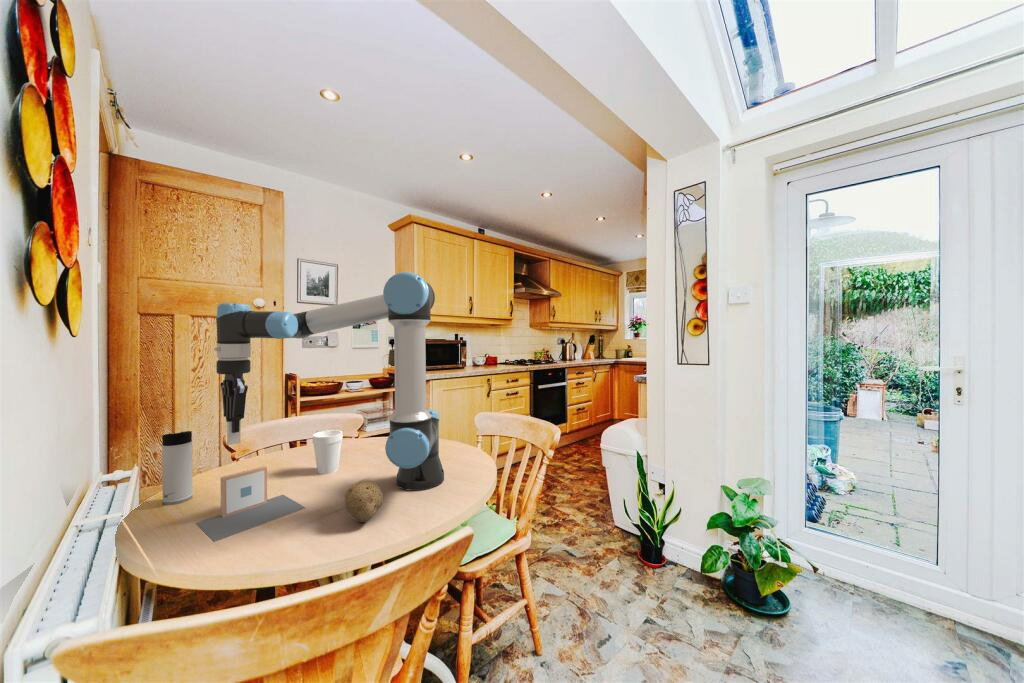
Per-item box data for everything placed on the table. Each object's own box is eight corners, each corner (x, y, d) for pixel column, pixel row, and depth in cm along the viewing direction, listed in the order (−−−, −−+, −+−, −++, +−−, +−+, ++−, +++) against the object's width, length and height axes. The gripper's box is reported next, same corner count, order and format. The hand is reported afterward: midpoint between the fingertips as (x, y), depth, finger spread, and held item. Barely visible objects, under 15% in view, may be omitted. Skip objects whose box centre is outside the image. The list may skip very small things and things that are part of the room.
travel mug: (163, 509, 98) (162, 435, 98) (161, 501, 102) (160, 431, 102) (194, 501, 103) (193, 431, 102) (191, 494, 107) (190, 427, 107)
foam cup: (314, 468, 129) (313, 431, 128) (342, 464, 133) (342, 429, 132) (311, 477, 120) (311, 438, 120) (342, 473, 124) (342, 435, 124)
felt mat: (306, 509, 98) (306, 507, 98) (213, 543, 82) (213, 541, 82) (283, 495, 106) (283, 494, 106) (195, 524, 90) (195, 522, 90)
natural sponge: (365, 508, 99) (365, 472, 99) (390, 515, 95) (390, 477, 95) (337, 524, 91) (336, 484, 90) (363, 532, 87) (362, 491, 87)
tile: (267, 503, 101) (267, 467, 101) (223, 517, 93) (223, 478, 93) (264, 501, 102) (264, 466, 102) (220, 515, 94) (220, 477, 94)
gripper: (209, 358, 102) (209, 442, 102) (225, 360, 94) (225, 451, 94) (241, 357, 108) (240, 436, 108) (258, 359, 100) (258, 444, 100)
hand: (233, 443), depth 101 cm, fingers closed
